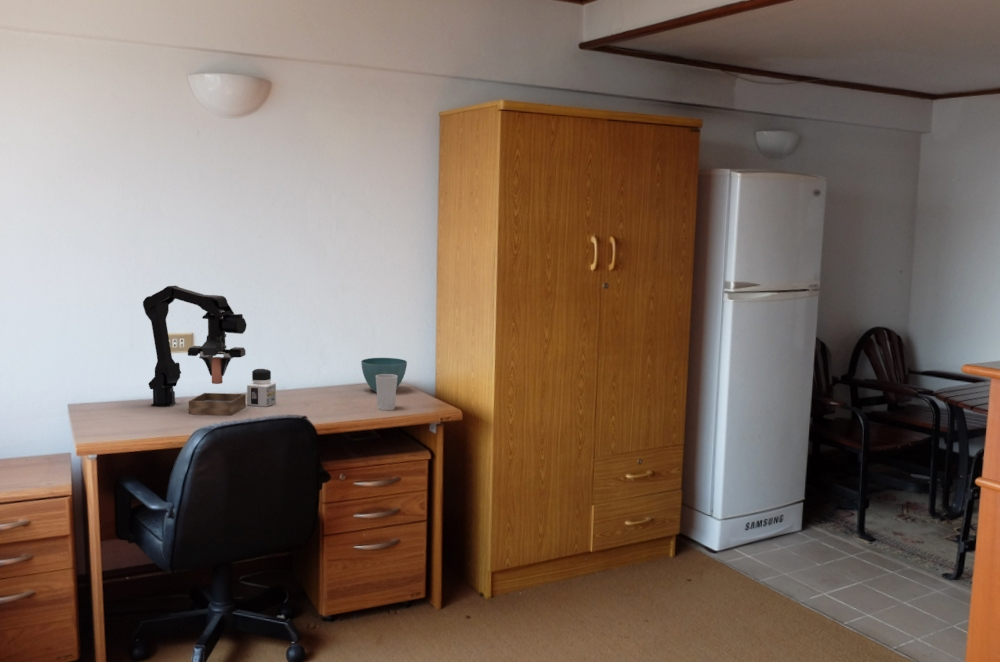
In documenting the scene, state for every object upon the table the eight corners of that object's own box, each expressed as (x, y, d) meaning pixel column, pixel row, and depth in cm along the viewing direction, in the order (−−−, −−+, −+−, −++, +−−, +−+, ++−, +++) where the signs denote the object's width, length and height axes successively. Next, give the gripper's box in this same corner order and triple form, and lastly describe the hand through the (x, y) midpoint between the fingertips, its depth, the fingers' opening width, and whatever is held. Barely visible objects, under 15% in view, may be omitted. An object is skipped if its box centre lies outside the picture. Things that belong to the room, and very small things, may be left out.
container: (266, 407, 311) (266, 371, 310) (246, 405, 313) (246, 370, 311) (276, 402, 319) (276, 368, 317) (257, 401, 320) (256, 367, 319)
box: (188, 413, 297) (188, 401, 296) (204, 404, 312) (204, 392, 311) (231, 415, 296) (231, 402, 296) (245, 406, 311) (245, 394, 311)
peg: (210, 383, 301) (209, 358, 300) (213, 381, 304) (213, 356, 303) (220, 384, 301) (220, 358, 300) (224, 382, 304) (223, 357, 303)
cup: (401, 407, 317) (401, 375, 315) (389, 411, 309) (390, 378, 308) (382, 405, 320) (383, 373, 318) (370, 408, 313) (371, 376, 311)
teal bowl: (414, 389, 351) (415, 360, 350) (391, 397, 335) (391, 366, 333) (376, 385, 358) (377, 356, 357) (352, 392, 342) (352, 362, 340)
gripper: (181, 333, 293) (181, 379, 295) (235, 335, 292) (235, 380, 294) (193, 330, 304) (194, 373, 306) (245, 331, 303) (246, 375, 305)
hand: (217, 375), depth 302 cm, fingers closed on peg, 4 cm apart
